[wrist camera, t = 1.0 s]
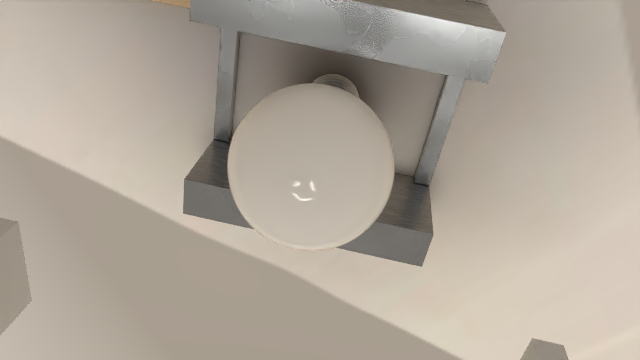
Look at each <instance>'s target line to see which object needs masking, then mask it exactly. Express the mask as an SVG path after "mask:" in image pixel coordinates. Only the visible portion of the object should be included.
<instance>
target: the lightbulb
mask: <svg viewBox="0 0 640 360" xmlns="http://www.w3.org/2000/svg"><path fill="white" fill-rule="evenodd" d="M227 174H228V182H229V187H230V191H231V194H232V197H233V199H234V202H235V204H236V206H237V208H238V209H239V211H240V213H241V214H242V216H243V217H244V218H245V220H246V221H247V222H248V223H249V224H250V225H251V226H252V227H253V228H254V229H255V230H256V231H257V232H258V233H260V234H261V235H262V236H264V237H265V238H267V239H268V240H270V241H272V242H274V243H276V244H278V245H281V246H284V247H287V248H290V249H295V250H301V251H322V250H328V249H332V248H336V247H339V246H341V245H344V244H346V243H348V242H350V241H352V240H354V239H355V238H357V237H358V236H360V235H361V234H363V233H364V232H365V231H366V230H367V229H368V228H369V227H370V226H371V225H372V224H373V223H374V222H375V221H376V220H377V218H378V217H379V216H380V214H381V213H382V211H383V210H384V208H385V206H386V204H387V202H388V199H389V197H390V194H391V191H392V187H393V182H394V175H395V159H394V152H393V147H392V144H391V140H390V138H389V135H388V133H387V131H386V129H385V127H384V125H383V123H382V122H381V120H380V119H379V117H378V116H377V115H376V113H375V112H374V111H373V110H372V109H371V108H370V107H369V106H368V105H367V104H366V103H365V102H363V101H362V100H361V99H359V94H358V91H357V88H356V87H355V85H354V84H353V83H352V82H351V81H350V80H349V79H347V78H346V77H344V76H341V75H337V74H327V75H323V76H321V77H319V78H317V79H316V80H315V81H313V83H304V84H297V85H292V86H288V87H285V88H282V89H279V90H277V91H275V92H273V93H271V94H269V95H267V96H266V97H264V98H263V99H261V100H260V101H259V102H258V103H256V104H255V105H254V106H253V107H252V108H251V109H250V110H249V111H248V112H247V114H246V115H245V116H244V117H243V119H242V120H241V122H240V123H239V125H238V127H237V129H236V131H235V133H234V135H233V138H232V140H231V144H230V147H229V152H228V160H227Z"/></svg>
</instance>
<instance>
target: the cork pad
mask: <svg viewBox="0 0 640 360" xmlns="http://www.w3.org/2000/svg"><path fill="white" fill-rule="evenodd" d="M152 1H156V2H161V3H166V4H171V5H175V6H180V7H185V8H190V0H152Z"/></svg>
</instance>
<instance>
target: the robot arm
mask: <svg viewBox="0 0 640 360" xmlns="http://www.w3.org/2000/svg"><path fill="white" fill-rule="evenodd" d="M30 302H31V294H30V288H29V282H28V276H27V271H26V264H25V258H24V253H23V247H22V241H21V235H20V229H19V224H18V222H17V221H13V220H9V219H4V218H0V335H1V334H2V333H3V332H4V331H5V329H6V328H7V327H8V326H9V325H10V324H11V323H12V322H13V321H14V320H15V318H16V317H17V316H18V315H19V314H20V313H21V312H22V311H23V310H24V308H25V307H26V306H27V305H28V304H29V303H30ZM520 360H568V357H567V354H566V351H565V348H564V346H563V345H559V344H555V343H551V342H546V341H542V340H537V339H533V338H532V340H531V342H530V343H529V345H528V347H527V349H526V351H525V352H524V354H523V356H522V358H521V359H520Z"/></svg>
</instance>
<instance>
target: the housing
mask: <svg viewBox="0 0 640 360" xmlns="http://www.w3.org/2000/svg"><path fill="white" fill-rule="evenodd" d="M190 21H193V22H198V23H203V24H207V25H212V26H217V27H221V38H220V53H219V68H218V84H217V99H216V114H215V129H214V140H213V141H212V143H211V144H210V145H209V147H208V148H207V149H206V151H205V152H204V153H203V155H202V156H201V157H200V159H199V160H198V162H197V163H196V164H195V166H194V167H193V168H192V170H191V171H190V172H189V174H188V175H187V176H186V178H185V179H184V204H183V213H184V214H188V215H193V216H197V217H202V218H206V219H211V220H215V221H219V222H224V223H228V224H233V225H237V226H242V227H246V228H251V229H254V228H253V227H252V226H251V225H250V224H249V223H248V222H247V221H246V220H245V218H244V217H243V216H242V214H241V213H240V211H239V209H238V208H237V206H236V204H235V202H234V199H233V197H232V194H231V191H230V187H229V182H228V174H227V160H228V152H229V147H230V144H231V140H232V138H231V134H232V122H233V110H234V99H235V87H236V75H237V64H238V52H239V40H240V32H245V33H250V34H255V35H259V36H264V37H269V38H274V39H278V40H283V41H288V42H293V43H297V44H302V45H307V46H312V47H316V48H321V49H326V50H331V51H335V52H340V53H345V54H350V55H354V56H359V57H364V58H369V59H373V60H378V61H383V62H388V63H392V64H397V65H402V66H407V67H411V68H416V69H421V70H426V71H430V72H435V73H440V74H445V75H446V78H445V81H444V84H443V87H442V91H441V94H440V97H439V100H438V103H437V107H436V110H435V113H434V116H433V119H432V123H431V126H430V129H429V132H428V135H427V139H426V142H425V145H424V148H423V151H422V154H421V158H420V161H419V164H418V167H417V170H416V174H415V178H414V177H409V176H404V175H400V174H395V175H394V182H393V187H392V191H391V194H390V197H389V199H388V202H387V204H386V206H385V208H384V210H383V211H382V213H381V214H380V216H379V217H378V218H377V220H376V221H375V222H374V223H373V224H372V225H371V226H370V227H369V228H368V229H367V230H366V231H365V232H364V233H363V234H361V235H360V236H358V237H357V238H355V239H354V240H352V241H350V242H348V243H346V244H344V245H341V246H339V247H336V248H340V249H345V250H349V251H354V252H358V253H363V254H367V255H372V256H376V257H381V258H385V259H389V260H394V261H398V262H403V263H407V264H412V265H416V266H421V267H422V265H423V262H424V259H425V256H426V254H427V251H428V248H429V245H430V243H431V240H432V237H433V225H432V214H431V203H430V192H429V185H430V182H431V179H432V176H433V173H434V170H435V167H436V164H437V161H438V158H439V155H440V152H441V149H442V146H443V143H444V140H445V137H446V134H447V131H448V128H449V125H450V122H451V119H452V116H453V113H454V110H455V107H456V104H457V101H458V98H459V95H460V92H461V89H462V86H463V83H464V80H465V79H468V80H473V81H478V82H482V83H487V84H488V82H489V80H490V77H491V74H492V71H493V68H494V66H495V63H496V60H497V57H498V55H499V52H500V49H501V46H502V44H503V41H504V38H505V35H506V31H505V30H504V29H503V27H502V26H501V24H500V23H499V22H498V20H497V19H496V17H495V16H494V15H493V13H492V12H491V10H490V9H489V7H488V6H487V5H484V4H479V3H474V2H469V1H464V0H190Z"/></svg>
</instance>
